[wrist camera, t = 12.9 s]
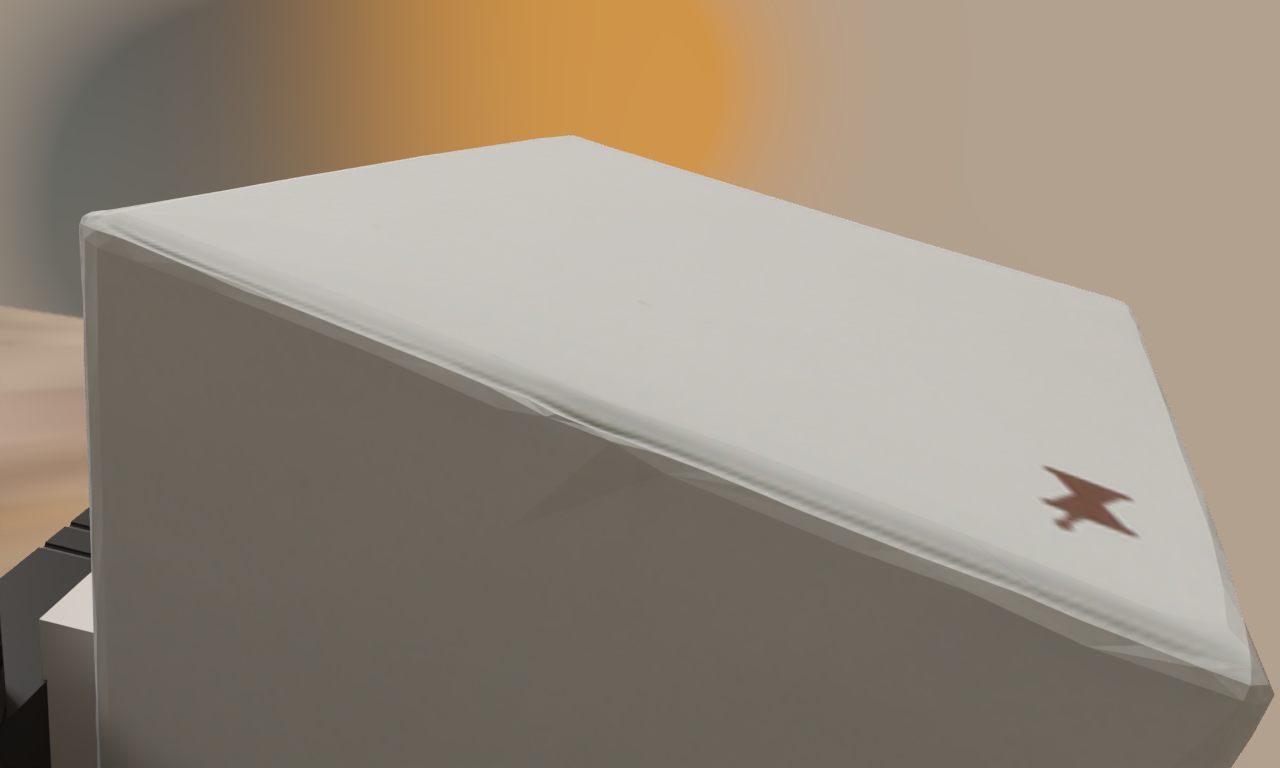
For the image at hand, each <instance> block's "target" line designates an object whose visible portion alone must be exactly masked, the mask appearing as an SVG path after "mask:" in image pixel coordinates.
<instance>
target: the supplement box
mask: <svg viewBox="0 0 1280 768" xmlns="http://www.w3.org/2000/svg"><path fill="white" fill-rule="evenodd" d="M79 228H80V260H81V275H82V292H83V307H84V308H83V309H84V310H83V312H84V364H85V392H86V421H87V449H88V478H89V508H90V538H91V569H92V601H93V634H94V661H95V686H96V733H97V768H1231V767H1232V765H1233V764H1234V762H1235V761H1236V759H1237V758H1238V756H1239V755H1240V753H1241V752H1242V750H1243V749H1244V747H1245V746H1246V744H1247V743H1248V741H1249V740H1250V738H1251V737H1252V735H1253V733H1254V732H1255V730H1256V728H1257V726H1258V724H1259V722H1260V720H1261V719H1262V717H1263V715H1264V713H1265V711H1266V710H1267V707H1268V706H1269V704H1270V702H1271V700H1272V698H1273V697H1274V692H1273V690H1272V687H1271V685H1270V683H1269V680H1268V678H1267V675H1266V673H1265V671H1264V668H1263V666H1262V663H1261V661H1260V658H1259V656H1258V653H1257V651H1256V649H1255V646H1254V644H1253V641H1252V639H1251V636H1250V634H1249V632H1248V629H1247V627H1246V624H1245V622H1244V619H1243V616H1242V613H1241V610H1240V606H1239V602H1238V598H1237V595H1236V591H1235V588H1234V584H1233V581H1232V577H1231V573H1230V570H1229V566H1228V562H1227V559H1226V556H1225V553H1224V550H1223V547H1222V545H1221V542H1220V539H1219V537H1218V533H1217V530H1216V528H1215V525H1214V522H1213V519H1212V516H1211V514H1210V511H1209V508H1208V505H1207V502H1206V500H1205V497H1204V494H1203V491H1202V489H1201V486H1200V484H1199V481H1198V479H1197V476H1196V474H1195V471H1194V468H1193V466H1192V463H1191V461H1190V458H1189V456H1188V453H1187V451H1186V448H1185V446H1184V443H1183V440H1182V438H1181V435H1180V432H1179V429H1178V426H1177V424H1176V421H1175V418H1174V416H1173V413H1172V411H1171V409H1170V407H1169V405H1168V402H1167V400H1166V397H1165V394H1164V391H1163V388H1162V386H1161V383H1160V380H1159V378H1158V375H1157V372H1156V369H1155V367H1154V364H1153V362H1152V359H1151V357H1150V354H1149V352H1148V349H1147V347H1146V345H1145V342H1144V340H1143V335H1142V333H1141V332H1140V328H1139V324H1138V322H1137V320H1136V318H1135V316H1134V314H1133V313H1132V311H1131V310H1130V308H1129V307H1128V306H1127V304H1125V303H1123V302H1121V301H1119V300H1116V299H1113V298H1110V297H1107V296H1104V295H1101V294H1097V293H1094V292H1090V291H1086V290H1083V289H1079V288H1076V287H1072V286H1069V285H1065V284H1062V283H1058V282H1055V281H1051V280H1048V279H1045V278H1041V277H1037V276H1034V275H1031V274H1027V273H1024V272H1021V271H1018V270H1014V269H1011V268H1007V267H1004V266H1001V265H997V264H994V263H990V262H987V261H984V260H980V259H977V258H973V257H970V256H966V255H963V254H960V253H956V252H953V251H950V250H946V249H943V248H939V247H936V246H933V245H929V244H926V243H922V242H919V241H916V240H912V239H909V238H906V237H902V236H899V235H896V234H892V233H889V232H885V231H883V230H879V229H876V228H873V227H869V226H866V225H863V224H860V223H856V222H853V221H850V220H846V219H843V218H840V217H837V216H833V215H830V214H827V213H824V212H820V211H817V210H814V209H810V208H807V207H804V206H801V205H797V204H794V203H791V202H787V201H784V200H781V199H778V198H774V197H771V196H768V195H764V194H761V193H758V192H755V191H751V190H748V189H745V188H741V187H738V186H735V185H732V184H728V183H725V182H722V181H719V180H715V179H712V178H709V177H705V176H702V175H699V174H696V173H692V172H689V171H685V170H682V169H679V168H676V167H673V166H669V165H666V164H663V163H660V162H656V161H653V160H650V159H647V158H644V157H640V156H637V155H634V154H631V153H627V152H624V151H621V150H617V149H615V148H611V147H608V146H605V145H602V144H599V143H596V142H592V141H589V140H586V139H583V138H580V137H578V136H572V135H569V136H561V137H551V138H540V139H533V140H526V141H520V142H513V143H506V144H499V145H493V146H487V147H480V148H473V149H467V150H460V151H454V152H447V153H441V154H434V155H427V156H420V157H415V158H410V159H404V160H398V161H392V162H386V163H381V164H375V165H369V166H363V167H357V168H351V169H345V170H340V171H333V172H327V173H321V174H315V175H309V176H303V177H297V178H291V179H286V180H280V181H275V182H269V183H264V184H258V185H253V186H247V187H242V188H236V189H231V190H225V191H220V192H214V193H208V194H202V195H196V196H190V197H184V198H178V199H172V200H166V201H161V202H154V203H148V204H142V205H137V206H130V207H124V208H119V209H112V210H104V211H95V212H90V213H88V214H86V215H84V216H83V217H82V220H81V222H80V225H79Z"/></svg>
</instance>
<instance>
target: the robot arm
mask: <svg viewBox="0 0 1280 768" xmlns="http://www.w3.org/2000/svg"><path fill="white" fill-rule="evenodd" d="M0 768H97V733H96V686H95V661H94V634H93V601H92V569H91V538H90V508H88V509H86V510H85V511H84V512H83V513H81V514H80V515H79V516H78V517H76V518H75V519H74V520H73V521H71V525H70V526H69V527H64V528H63V529H61V530H60V531H59V532H58V533H56V534H55V535H54V536H53V537H51V538H50V539H49V540H48V541H46V543H45V546H44V548H38V549H36V550H35V551H34V552H33V553H31V554H30V555H29V556H28V557H26V558H25V559H24V560H23V561H21V562H20V563H19V564H18V565H16V566H15V567H14V568H13V569H11V570H10V571H9V572H8V573H6V574H5V575H4V576H3V577H1V578H0Z"/></svg>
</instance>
